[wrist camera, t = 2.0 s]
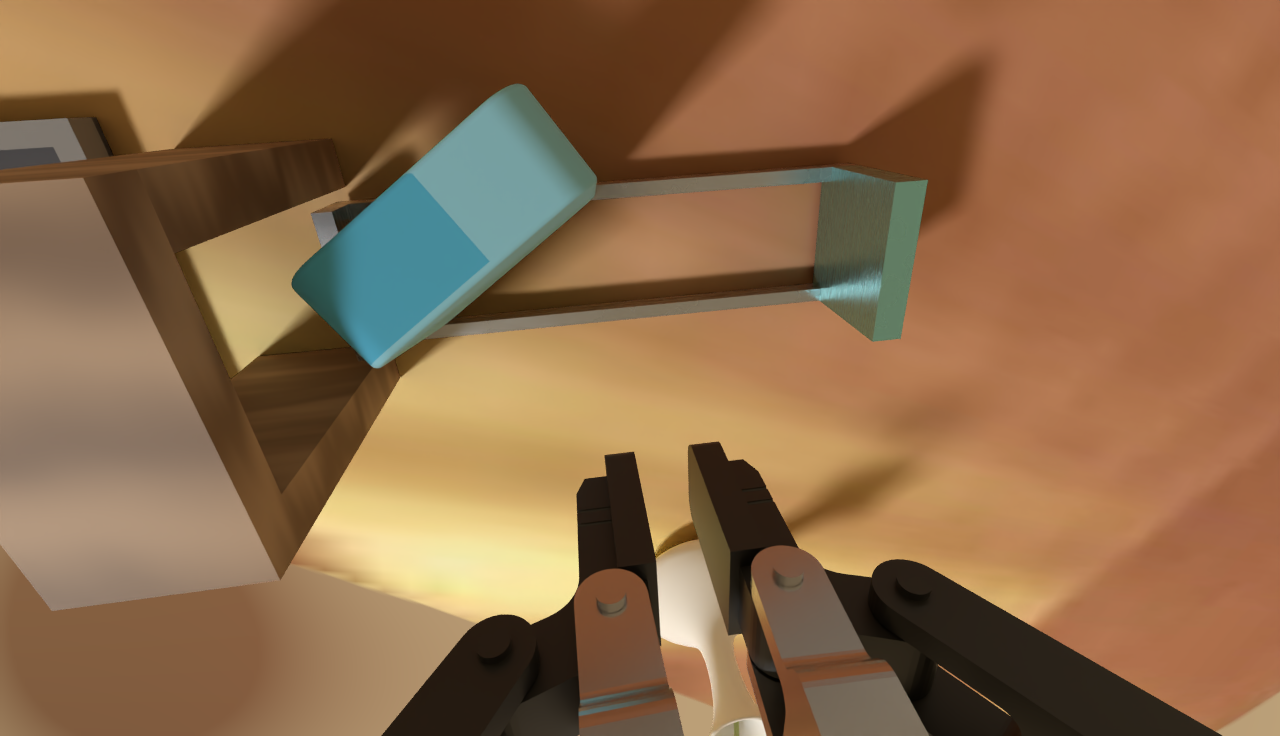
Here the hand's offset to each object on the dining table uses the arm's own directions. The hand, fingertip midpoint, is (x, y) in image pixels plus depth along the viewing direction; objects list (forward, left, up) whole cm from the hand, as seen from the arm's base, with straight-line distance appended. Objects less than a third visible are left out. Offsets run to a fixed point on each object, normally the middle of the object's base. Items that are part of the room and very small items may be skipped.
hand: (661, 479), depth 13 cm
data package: (-2, -6, -22) cm, 23 cm away
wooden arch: (0, -18, -23) cm, 29 cm away
